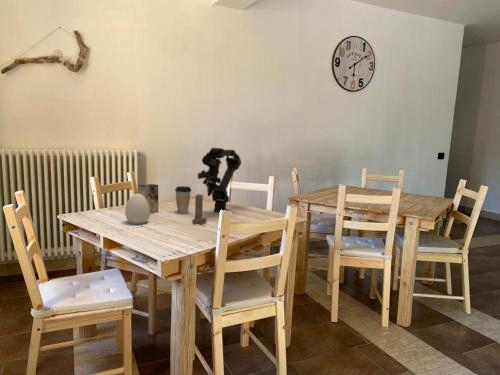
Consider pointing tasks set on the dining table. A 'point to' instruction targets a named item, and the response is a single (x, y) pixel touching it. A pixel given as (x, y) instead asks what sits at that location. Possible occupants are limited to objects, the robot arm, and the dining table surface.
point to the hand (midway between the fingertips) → (208, 195)
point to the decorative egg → (137, 209)
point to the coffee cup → (182, 199)
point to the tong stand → (198, 212)
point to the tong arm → (202, 203)
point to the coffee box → (150, 195)
